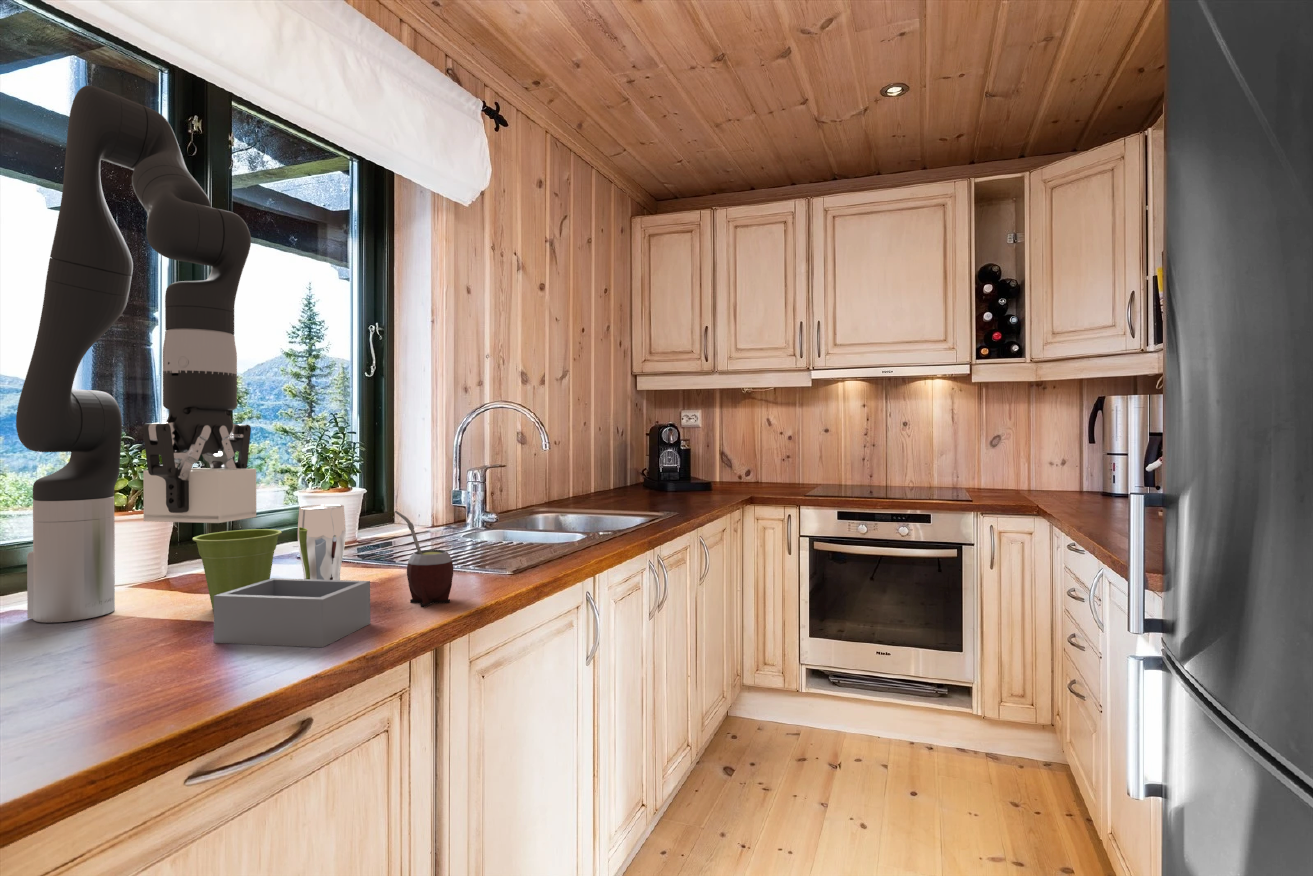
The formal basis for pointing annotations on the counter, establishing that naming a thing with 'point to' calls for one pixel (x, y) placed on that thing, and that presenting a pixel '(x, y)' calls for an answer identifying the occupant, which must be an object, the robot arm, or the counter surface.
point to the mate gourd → (428, 573)
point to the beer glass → (321, 540)
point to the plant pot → (236, 558)
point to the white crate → (205, 496)
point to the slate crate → (291, 612)
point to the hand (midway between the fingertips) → (201, 508)
